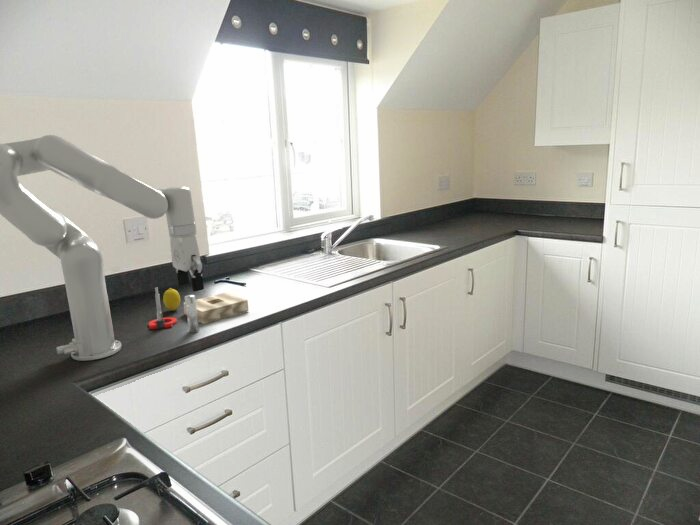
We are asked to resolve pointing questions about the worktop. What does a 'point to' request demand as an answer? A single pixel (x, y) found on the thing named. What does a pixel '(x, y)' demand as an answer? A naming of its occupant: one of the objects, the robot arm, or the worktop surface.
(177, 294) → the lemon
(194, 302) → the peg
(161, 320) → the red grey post stand
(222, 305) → the hole block
